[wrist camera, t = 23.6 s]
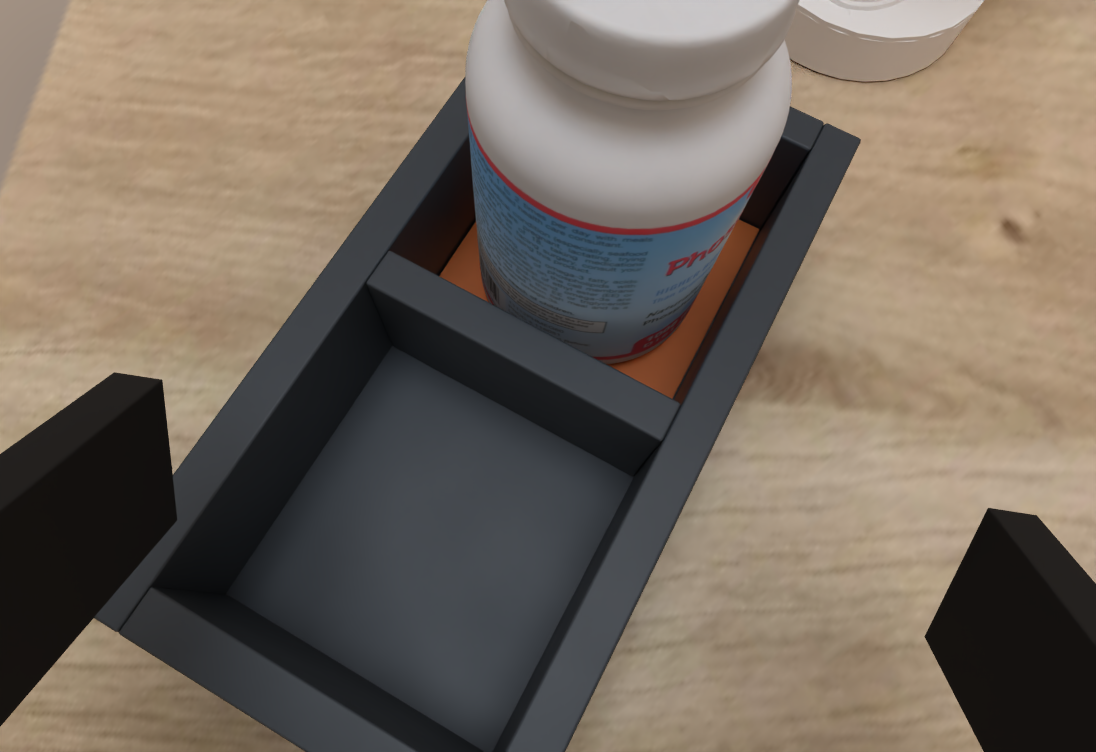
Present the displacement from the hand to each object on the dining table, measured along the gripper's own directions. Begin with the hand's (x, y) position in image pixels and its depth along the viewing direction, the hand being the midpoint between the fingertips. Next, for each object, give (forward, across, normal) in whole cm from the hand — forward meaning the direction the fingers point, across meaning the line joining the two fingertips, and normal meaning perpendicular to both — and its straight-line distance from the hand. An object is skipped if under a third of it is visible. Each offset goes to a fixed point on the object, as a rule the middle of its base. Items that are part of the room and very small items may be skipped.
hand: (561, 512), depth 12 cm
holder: (+9, -1, -3) cm, 9 cm away
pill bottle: (+11, 0, 0) cm, 11 cm away
